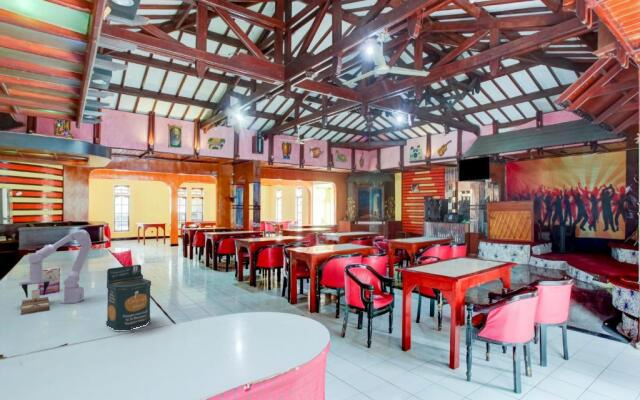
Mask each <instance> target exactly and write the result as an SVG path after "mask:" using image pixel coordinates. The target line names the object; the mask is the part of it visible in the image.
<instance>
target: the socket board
mask: <svg viewBox="0 0 640 400" xmlns="http://www.w3.org/2000/svg"><path fill="white" fill-rule="evenodd" d="M21 301H22V302H21V308H20V315H21V316H22V315H27V314H34V313H35V314H36V313H41V312H45V311H47V312H48V311H50V308H51V307H50V305H51V304H50V299H49V296H45V297H40V298H39V301H37V300H35V301H34V302H32V298H30V299H23V300H21Z"/></svg>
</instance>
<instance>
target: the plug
mask: <svg viewBox="0 0 640 400" xmlns="http://www.w3.org/2000/svg"><path fill="white" fill-rule="evenodd" d="M39 298H41V295H40V289H39V290H38V289H34V290H33V289H32V290H31V299H32V302H34V301H35V300H37V301H39Z"/></svg>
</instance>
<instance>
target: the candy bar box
mask: <svg viewBox="0 0 640 400" xmlns="http://www.w3.org/2000/svg"><path fill="white" fill-rule="evenodd" d="M60 270H61V269H60V267H51V268H49V267H48V268H42V279H52V282H50V283H49V285H48V287H47V289H46V292H45V295H48V294H49V295H50V294H54V293H55V294H56V293H60V291H61V287H60V286H61V285H60V284H61V283H60V282H61V281H60V279H61V276H60V275H61V271H60ZM38 283H40V282H38ZM39 289H40V296H44V295H43V291H44V283H40V284H37V290H39Z"/></svg>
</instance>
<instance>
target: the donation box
mask: <svg viewBox="0 0 640 400" xmlns="http://www.w3.org/2000/svg"><path fill="white" fill-rule="evenodd" d="M106 273H107V274H106V289H107V308H106V309H107V310H106V311H107V316H106V317H107V319H106V321H105V325H107V326H106V327H108V326H109V327H111V328H113V329H114V330H131V329H133V328H136V327H140V326H143V325H146V324H147V323H148V322H150V321H152V319H151V286H152V281H151V280H149V279H145V278H144V275H143V273H142V265H141V264H134V265H133V264H132V265H127V266H119V267H112V268H111V267H110V268H108V269H107V270H106ZM150 323H151V322H150ZM109 327H108V328H109ZM111 328H110V329H111ZM114 330H113V331H114ZM131 331H132V330H131Z"/></svg>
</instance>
